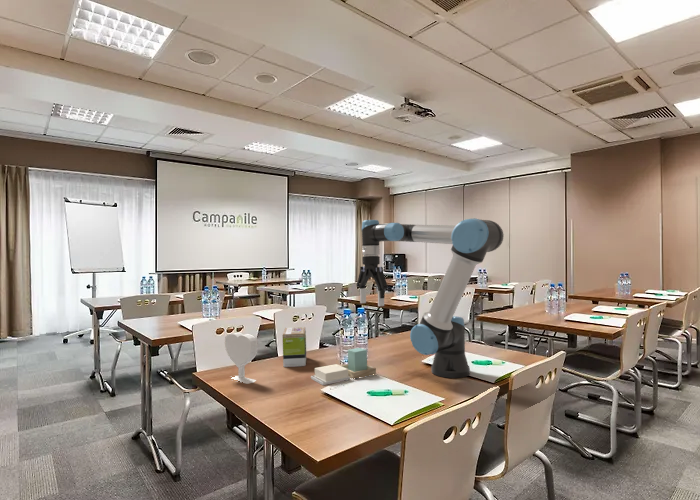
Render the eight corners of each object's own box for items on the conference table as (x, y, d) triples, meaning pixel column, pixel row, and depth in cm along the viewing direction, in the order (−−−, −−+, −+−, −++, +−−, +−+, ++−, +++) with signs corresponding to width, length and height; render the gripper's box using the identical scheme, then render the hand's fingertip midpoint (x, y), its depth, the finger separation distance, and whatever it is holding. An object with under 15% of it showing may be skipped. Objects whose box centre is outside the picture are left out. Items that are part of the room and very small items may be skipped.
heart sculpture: (260, 381, 157) (259, 334, 157) (250, 384, 153) (249, 337, 153) (233, 374, 166) (233, 331, 166) (223, 378, 161) (223, 333, 162)
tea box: (285, 358, 190) (284, 327, 190) (306, 357, 191) (306, 326, 191) (282, 367, 175) (282, 333, 176) (305, 366, 176) (305, 332, 176)
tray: (375, 374, 162) (375, 368, 162) (353, 379, 156) (353, 372, 156) (360, 368, 172) (360, 362, 172) (338, 372, 166) (338, 366, 166)
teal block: (367, 372, 164) (366, 349, 164) (355, 374, 161) (354, 352, 161) (360, 369, 168) (359, 347, 168) (348, 371, 165) (347, 349, 165)
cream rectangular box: (350, 379, 156) (349, 369, 156) (322, 385, 150) (322, 374, 150) (337, 373, 165) (337, 363, 165) (310, 378, 159) (310, 368, 159)
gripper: (348, 255, 184) (349, 302, 183) (381, 255, 162) (382, 308, 162) (362, 255, 188) (363, 301, 187) (395, 255, 166) (396, 306, 166)
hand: (371, 304), depth 175 cm, fingers open, 13 cm apart
